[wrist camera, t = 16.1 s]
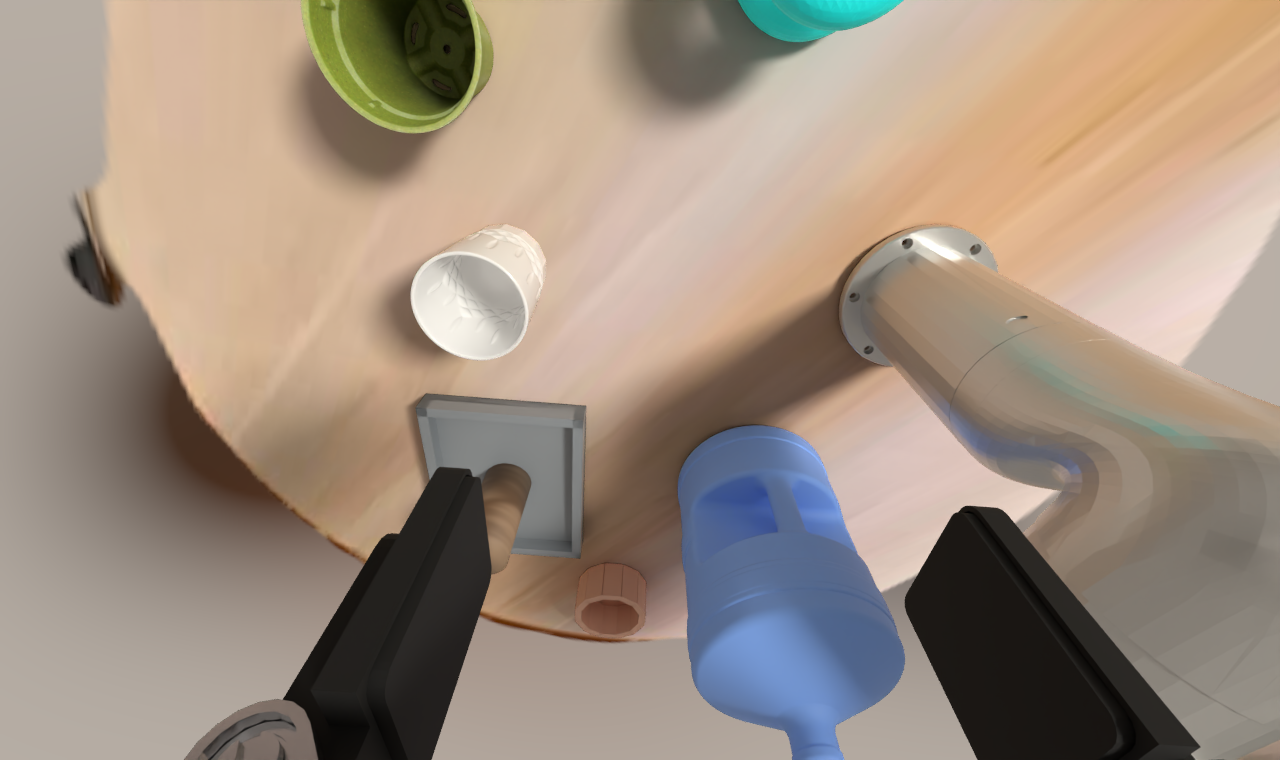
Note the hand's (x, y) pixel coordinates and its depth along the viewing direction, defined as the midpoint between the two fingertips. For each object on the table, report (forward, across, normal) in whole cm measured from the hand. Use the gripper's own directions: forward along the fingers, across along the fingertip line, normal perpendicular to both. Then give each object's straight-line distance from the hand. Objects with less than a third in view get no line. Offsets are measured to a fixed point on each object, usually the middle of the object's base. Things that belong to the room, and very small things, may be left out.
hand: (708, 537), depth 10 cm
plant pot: (+34, +16, -9) cm, 38 cm away
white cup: (+34, +13, +6) cm, 36 cm away
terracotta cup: (+33, +2, +48) cm, 58 cm away
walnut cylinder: (+32, +14, +30) cm, 46 cm away
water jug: (+34, -12, +28) cm, 45 cm away
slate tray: (+33, +14, +30) cm, 47 cm away
